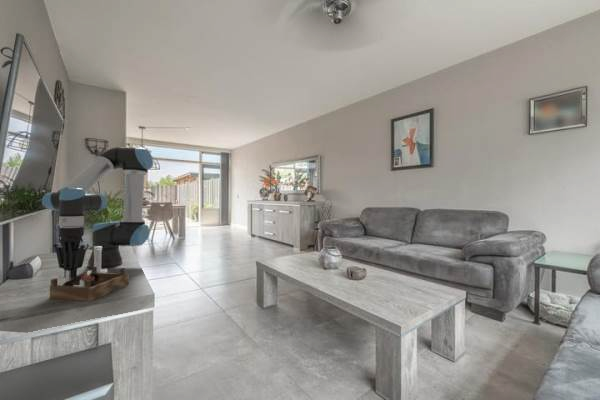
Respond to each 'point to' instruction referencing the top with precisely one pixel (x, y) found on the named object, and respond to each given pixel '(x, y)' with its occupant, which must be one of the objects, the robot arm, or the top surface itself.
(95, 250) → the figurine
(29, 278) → the top surface
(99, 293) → the brown wooden tray
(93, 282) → the broken pottery fragment
